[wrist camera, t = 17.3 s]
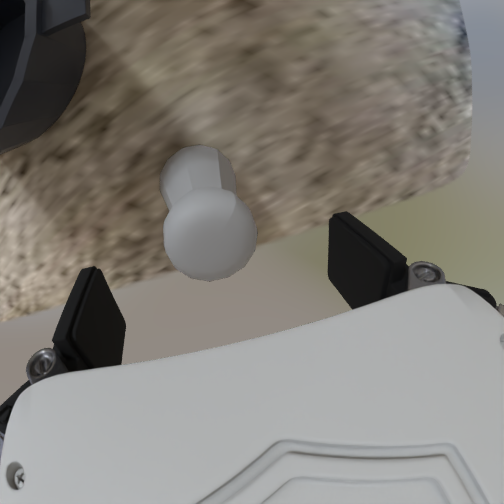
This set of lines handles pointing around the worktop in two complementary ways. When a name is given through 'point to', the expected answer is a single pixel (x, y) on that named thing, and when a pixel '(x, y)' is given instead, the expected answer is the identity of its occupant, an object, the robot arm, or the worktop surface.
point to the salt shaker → (205, 215)
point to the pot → (38, 64)
